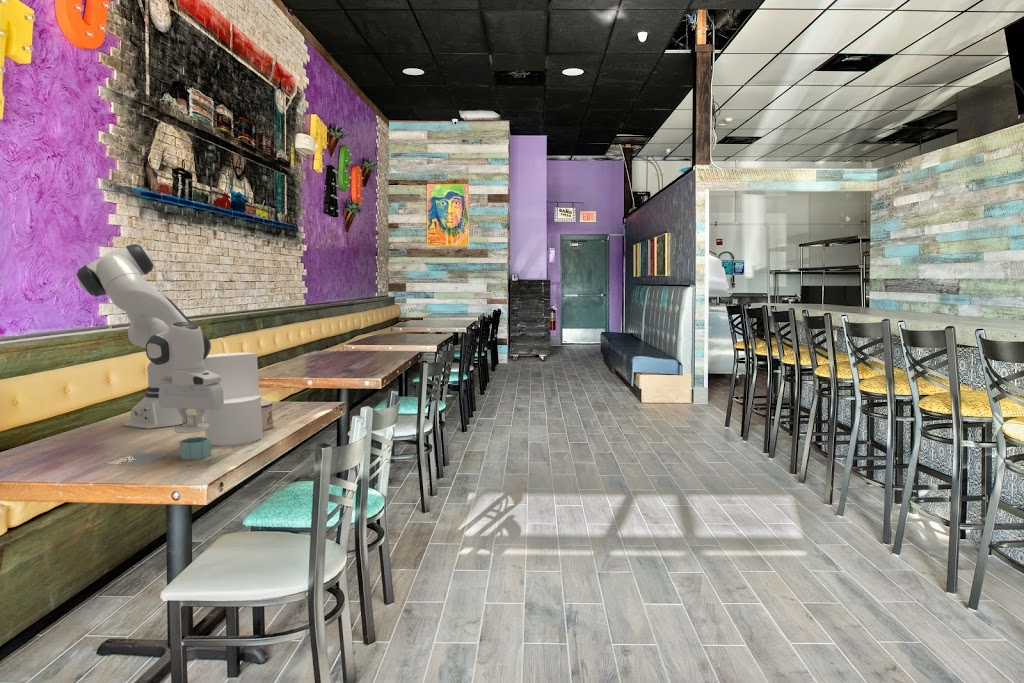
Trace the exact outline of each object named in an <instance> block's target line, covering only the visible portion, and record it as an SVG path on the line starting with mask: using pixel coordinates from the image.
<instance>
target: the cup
mask: <svg viewBox="0 0 1024 683" xmlns="http://www.w3.org/2000/svg"><path fill="white" fill-rule="evenodd" d="M211 446H212V445H210V438H209V437H205V436H195V437H188V438H184V439H180V440H179V456H180V459H181V460H185V461H192V460H193V461H194V460H199V459H204V458H207V457H210V456H211V455H212V447H211Z"/></svg>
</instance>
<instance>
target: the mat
mask: <svg viewBox="0 0 1024 683" xmlns="http://www.w3.org/2000/svg"><path fill="white" fill-rule="evenodd" d="M132 454H133V453H131V454H130V453H129V454H128V455H129V456H130V455H131V456H132V457H133V458H134V460H132V461H131V460H130V461H131V462H130V461H129V460H128V458H126V459H127V460H126V461H124V460H123V461H124V462H123V461H122V462H120V463H121V464H120V463H119V464H118V466H129V465H130V467H131V466H133V467H140V466H142V465H145V464H147V463H150V462H153V461H156V460H158V459H159V460H160V459H162V458H164V457H167V456H169V455H171V453H163V452H162V453H158V452H156V453H155V452H144V451H143V452H142V451H137V452H134V454H133V455H132ZM131 456H130V457H131ZM132 457H131V459H132ZM124 459H125V458H124ZM135 459H136V460H135ZM128 461H129V462H128Z"/></svg>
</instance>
